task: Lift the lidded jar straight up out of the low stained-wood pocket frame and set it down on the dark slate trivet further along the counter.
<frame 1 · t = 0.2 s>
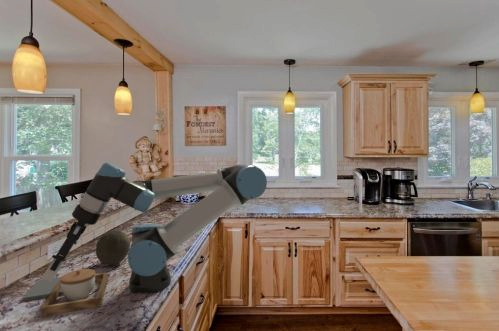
hand: (52, 269, 90), 15 cm above the countertop, tool tilted 30°, fingers open, 13 cm apart
pocket frame: (79, 296, 103), on the countertop
lidded jar: (79, 296, 103), resting in pocket frame
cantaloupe: (114, 264, 134), on the countertop
trivet: (54, 288, 110), on the countertop
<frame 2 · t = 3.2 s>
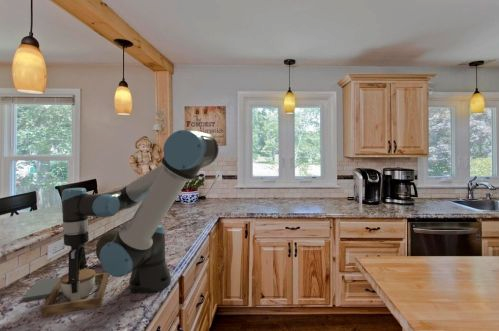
hand: (79, 293, 103), 1 cm above the countertop, tool pointing down, fingers closed on lidded jar, 11 cm apart
lidded jar: (79, 296, 103), resting in pocket frame, touching gripper
everything else where it was.
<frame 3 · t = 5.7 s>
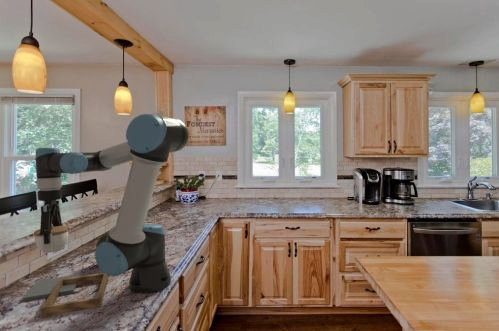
hand: (52, 247, 110), 16 cm above the countertop, tool pointing down, fingers closed on lidded jar, 11 cm apart
lidded jar: (52, 250, 110), point 14 cm above the countertop, touching gripper
everything else where it was.
when the fingers open (4 cm above the countertop, at t = 8.4 s): lidded jar stays where it is, resting on pocket frame.
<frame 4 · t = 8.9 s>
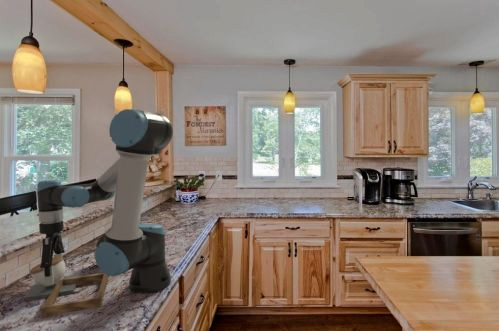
hand: (54, 277, 110), 4 cm above the countertop, tool pointing down, fingers open, 13 cm apart
lidded jar: (54, 282, 110), point 2 cm above the countertop, touching pocket frame
everything else where it was.
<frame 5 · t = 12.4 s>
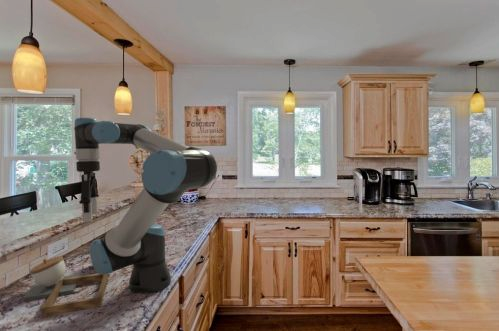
hand: (90, 217, 108), 27 cm above the countertop, tool pointing down, fingers open, 13 cm apart
lidded jar: (54, 282, 110), point 2 cm above the countertop, touching pocket frame, trivet
everything else where it was.
at the end: lidded jar inside the target area on the trivet (0.1 cm from its centre), point 2.2 cm above the trivet's base; lidded jar tilted 18°; the gripper is holding nothing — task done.
